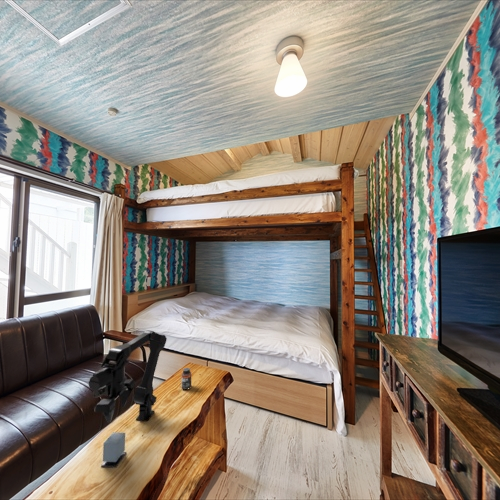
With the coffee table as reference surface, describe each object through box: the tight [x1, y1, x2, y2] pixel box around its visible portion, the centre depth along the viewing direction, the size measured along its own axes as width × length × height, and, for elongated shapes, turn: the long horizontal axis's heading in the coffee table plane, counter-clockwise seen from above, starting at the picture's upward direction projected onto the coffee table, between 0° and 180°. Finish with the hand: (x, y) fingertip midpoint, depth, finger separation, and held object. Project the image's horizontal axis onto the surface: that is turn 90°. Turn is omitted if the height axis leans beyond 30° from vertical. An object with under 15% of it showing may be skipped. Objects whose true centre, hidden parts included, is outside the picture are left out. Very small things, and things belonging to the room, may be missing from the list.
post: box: [100, 451, 127, 469], centre depth 83 cm, size 6×6×8 cm
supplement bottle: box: [181, 367, 192, 390], centre depth 131 cm, size 6×6×11 cm
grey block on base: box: [102, 432, 126, 462], centre depth 83 cm, size 5×5×7 cm
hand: (116, 414), depth 91 cm, fingers open, 9 cm apart
